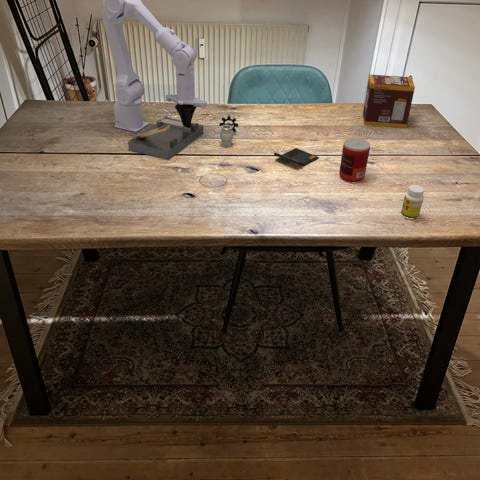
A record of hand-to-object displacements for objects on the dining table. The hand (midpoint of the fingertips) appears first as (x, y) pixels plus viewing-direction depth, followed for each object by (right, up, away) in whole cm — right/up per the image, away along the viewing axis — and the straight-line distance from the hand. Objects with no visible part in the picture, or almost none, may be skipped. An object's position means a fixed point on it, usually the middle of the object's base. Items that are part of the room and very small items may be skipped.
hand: (186, 124), depth 180 cm
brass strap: (-10, -5, -10) cm, 15 cm away
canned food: (+52, -20, -19) cm, 59 cm away
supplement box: (+71, +5, +18) cm, 74 cm away
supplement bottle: (+64, -32, -36) cm, 80 cm away
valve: (+14, -5, +1) cm, 15 cm away
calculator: (+36, -14, -10) cm, 40 cm away
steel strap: (-3, 0, +2) cm, 4 cm away
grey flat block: (-6, -6, -2) cm, 9 cm away
